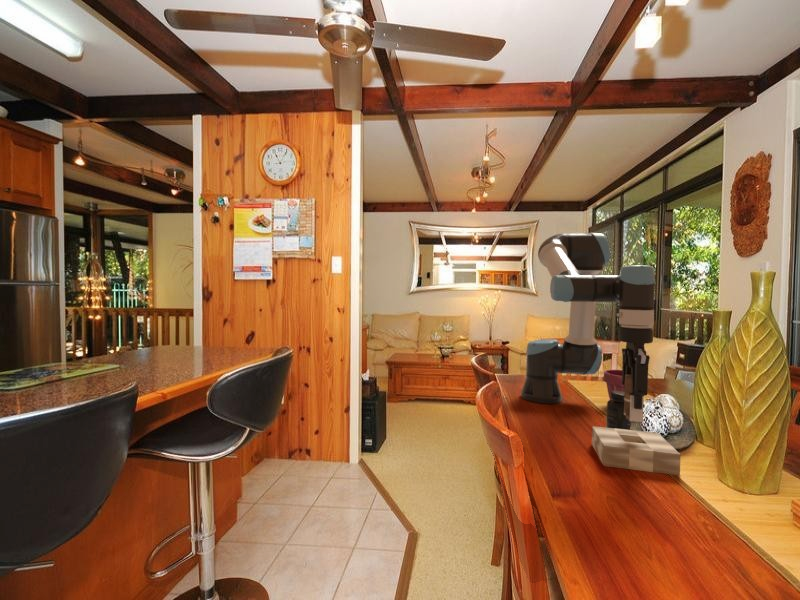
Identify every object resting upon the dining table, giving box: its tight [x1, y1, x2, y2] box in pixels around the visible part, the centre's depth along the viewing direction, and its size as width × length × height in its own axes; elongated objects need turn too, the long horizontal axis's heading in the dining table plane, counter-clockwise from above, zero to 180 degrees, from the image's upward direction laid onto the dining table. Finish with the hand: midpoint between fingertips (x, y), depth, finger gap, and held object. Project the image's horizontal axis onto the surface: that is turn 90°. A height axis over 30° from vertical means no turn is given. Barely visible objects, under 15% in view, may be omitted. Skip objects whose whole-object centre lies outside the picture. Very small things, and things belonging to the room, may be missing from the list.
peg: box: [624, 374, 632, 420], centre depth 97 cm, size 4×4×11 cm
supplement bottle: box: [605, 391, 633, 430], centre depth 116 cm, size 7×7×12 cm
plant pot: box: [603, 369, 625, 400], centre depth 141 cm, size 14×14×13 cm
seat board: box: [591, 426, 681, 476], centre depth 97 cm, size 14×16×5 cm
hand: (633, 417), depth 97 cm, fingers closed on peg, 4 cm apart
